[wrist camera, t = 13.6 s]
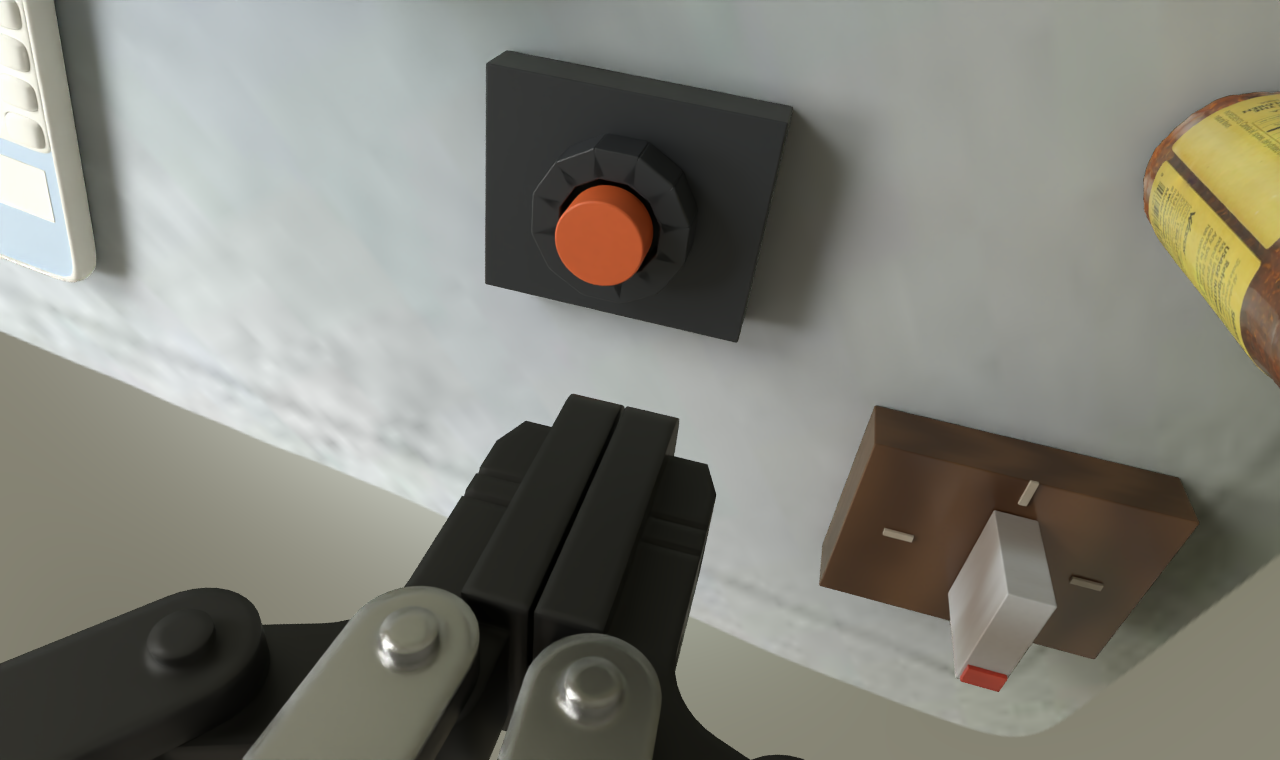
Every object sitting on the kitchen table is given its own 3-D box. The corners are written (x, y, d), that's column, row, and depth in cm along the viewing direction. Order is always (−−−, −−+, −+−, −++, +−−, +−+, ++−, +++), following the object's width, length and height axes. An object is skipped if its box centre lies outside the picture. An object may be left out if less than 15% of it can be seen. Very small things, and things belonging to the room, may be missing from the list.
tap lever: (993, 509, 37) (1008, 598, 33) (1038, 520, 36) (1059, 612, 32) (947, 592, 40) (955, 682, 36) (988, 603, 40) (1000, 695, 36)
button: (659, 194, 31) (649, 212, 30) (647, 275, 33) (637, 295, 32) (571, 175, 32) (556, 192, 30) (565, 256, 34) (551, 275, 32)
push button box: (793, 106, 32) (783, 138, 29) (744, 319, 38) (731, 365, 35) (506, 49, 33) (466, 74, 30) (502, 263, 39) (468, 303, 36)
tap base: (1181, 475, 37) (1203, 524, 34) (1082, 614, 43) (1094, 664, 40) (875, 402, 39) (875, 444, 36) (821, 545, 45) (818, 589, 42)
